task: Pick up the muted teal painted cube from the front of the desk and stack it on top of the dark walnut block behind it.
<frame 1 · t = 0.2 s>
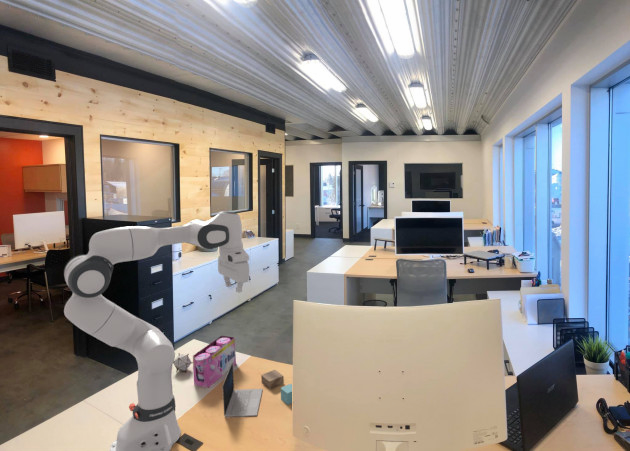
hand: (233, 289, 146), 47 cm above the table, tool pointing down, fingers open, 8 cm apart
grey spiked polyhedron: (183, 371, 181), on the table
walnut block: (272, 383, 167), on the table
laptop: (244, 403, 154), on the table
gum box: (216, 374, 177), on the table
teal cube: (289, 399, 155), on the table
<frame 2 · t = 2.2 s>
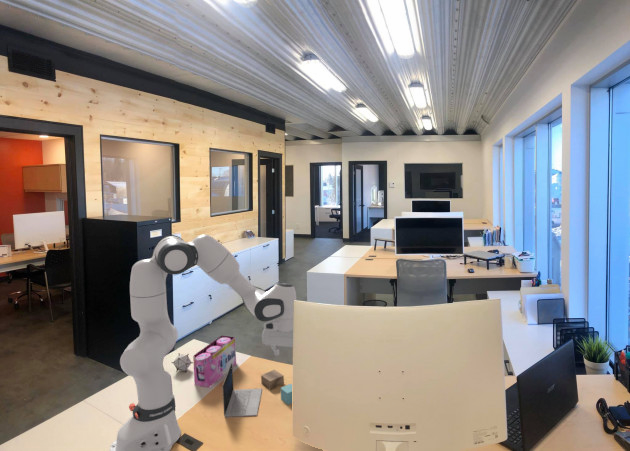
hand: (288, 355, 152), 19 cm above the table, tool pointing down, fingers open, 8 cm apart
nothing on the table moved.
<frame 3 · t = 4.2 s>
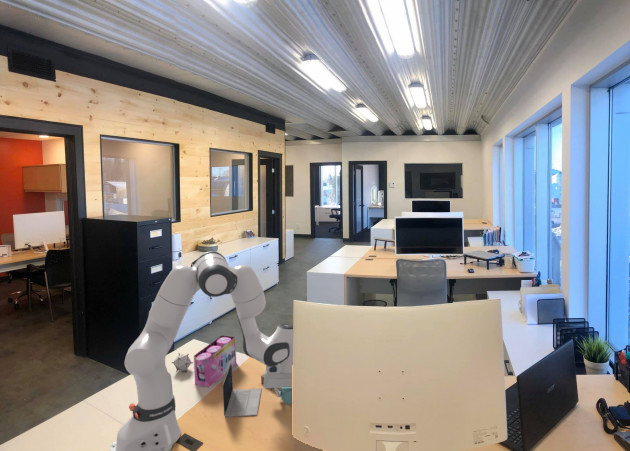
hand: (289, 395, 155), 2 cm above the table, tool pointing down, fingers closed on teal cube, 7 cm apart
teal cube: (289, 399, 155), on the table, touching gripper
everything else where it was.
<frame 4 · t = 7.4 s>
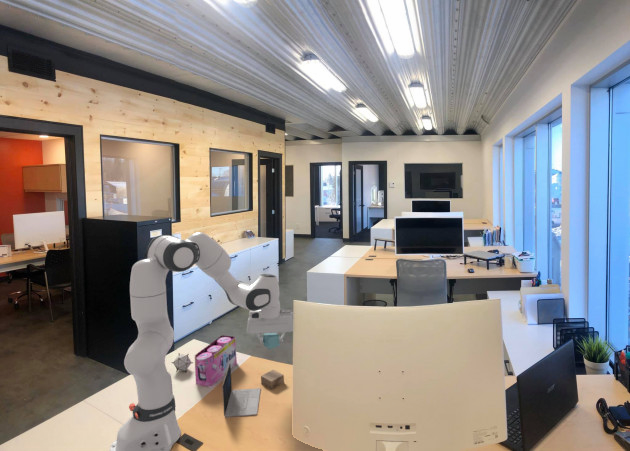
hand: (271, 342, 164), 19 cm above the table, tool pointing down, fingers closed on teal cube, 7 cm apart
teal cube: (271, 345, 165), point 18 cm above the table, touching gripper
everything else where it was.
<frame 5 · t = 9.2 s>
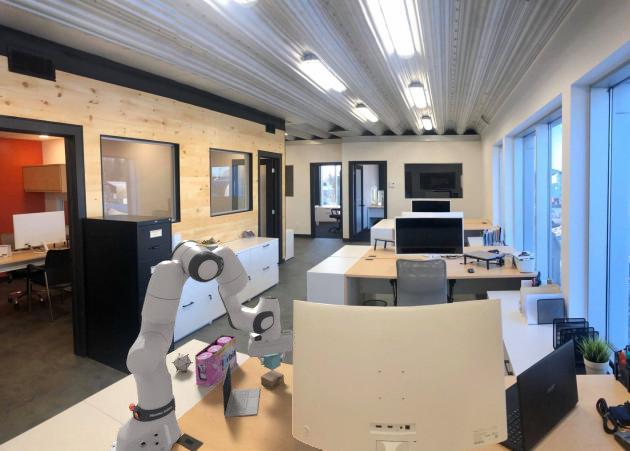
hand: (272, 362, 166), 10 cm above the table, tool pointing down, fingers closed on teal cube, 7 cm apart
teal cube: (272, 366, 166), point 8 cm above the table, touching gripper
everything else where it was.
when the fingers open (7 cm above the table, at t = 10.8 s): teal cube drops 2 cm, resting on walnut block.
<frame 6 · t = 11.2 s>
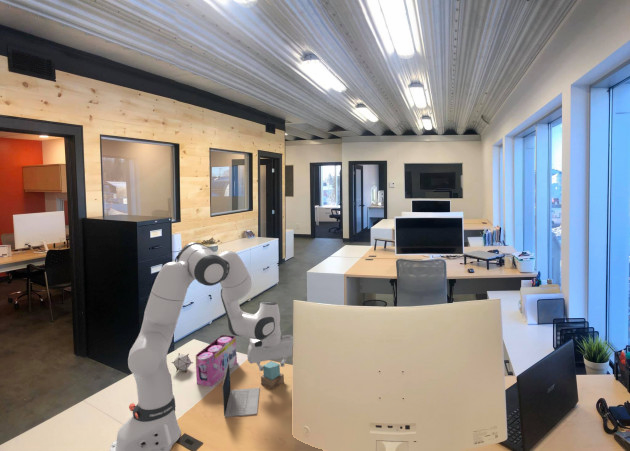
hand: (271, 368, 166), 7 cm above the table, tool pointing down, fingers open, 8 cm apart
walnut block: (272, 384, 167), on the table, touching teal cube
teal cube: (271, 375, 167), point 4 cm above the table, touching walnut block
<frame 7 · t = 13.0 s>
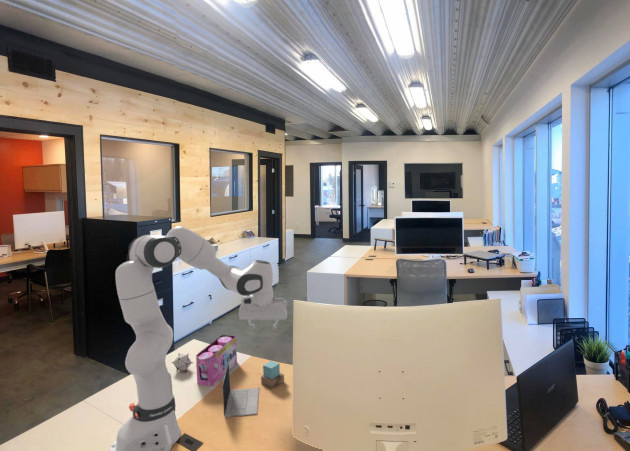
hand: (263, 328, 164), 25 cm above the table, tool pointing down, fingers open, 8 cm apart
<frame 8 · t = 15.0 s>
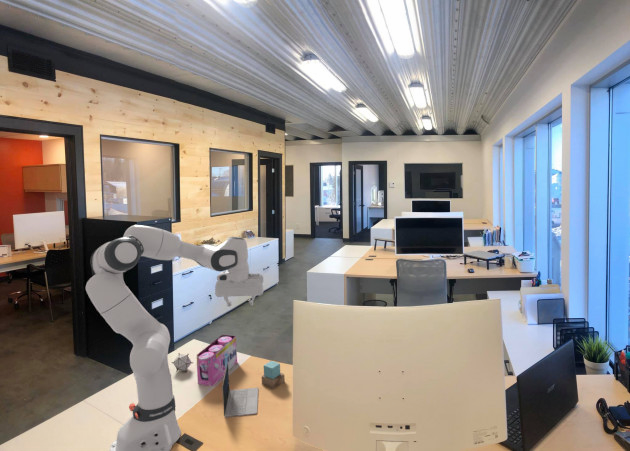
hand: (240, 305, 165), 35 cm above the table, tool pointing down, fingers open, 8 cm apart
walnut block: (273, 383, 168), on the table
teal cube: (272, 375, 167), point 4 cm above the table
at the end: teal cube 0.3 cm off-centre on the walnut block, point 4.0 cm above the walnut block's base; teal cube tilted 0°; the gripper is holding nothing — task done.
